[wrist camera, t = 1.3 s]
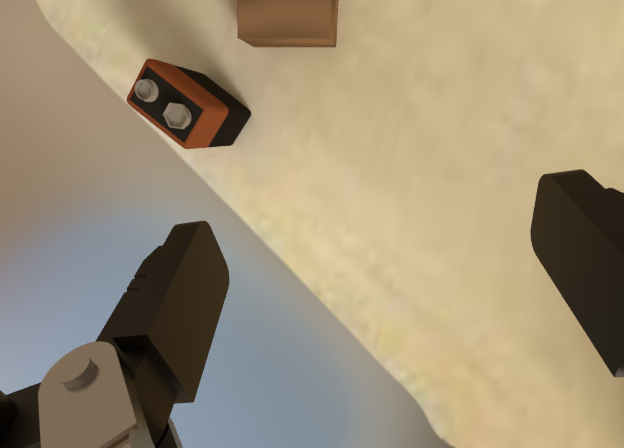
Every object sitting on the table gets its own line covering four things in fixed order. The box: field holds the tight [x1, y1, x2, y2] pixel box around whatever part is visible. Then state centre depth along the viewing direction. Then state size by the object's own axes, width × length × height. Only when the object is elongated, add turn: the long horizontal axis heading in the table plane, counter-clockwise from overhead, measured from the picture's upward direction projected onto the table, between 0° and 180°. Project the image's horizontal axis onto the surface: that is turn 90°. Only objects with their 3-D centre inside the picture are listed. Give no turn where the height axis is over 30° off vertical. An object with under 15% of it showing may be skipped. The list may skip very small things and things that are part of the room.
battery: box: [127, 59, 251, 149], centre depth 35 cm, size 4×7×10 cm, turn 54°
